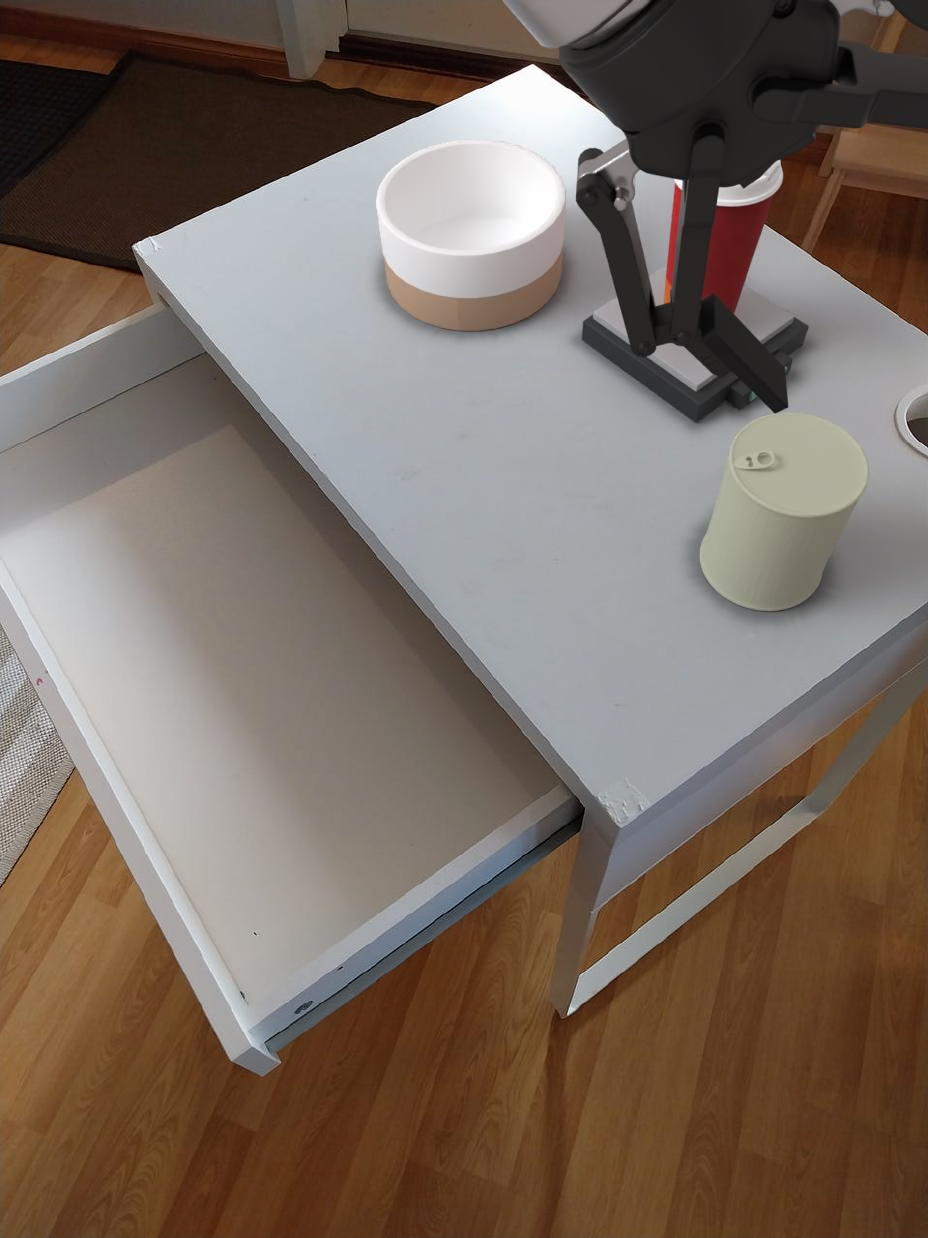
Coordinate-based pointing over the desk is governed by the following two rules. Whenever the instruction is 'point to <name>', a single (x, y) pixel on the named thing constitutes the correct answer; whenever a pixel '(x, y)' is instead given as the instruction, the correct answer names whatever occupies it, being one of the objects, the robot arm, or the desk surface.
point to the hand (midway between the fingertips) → (913, 325)
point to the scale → (677, 368)
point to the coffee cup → (729, 235)
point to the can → (781, 509)
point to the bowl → (472, 233)
